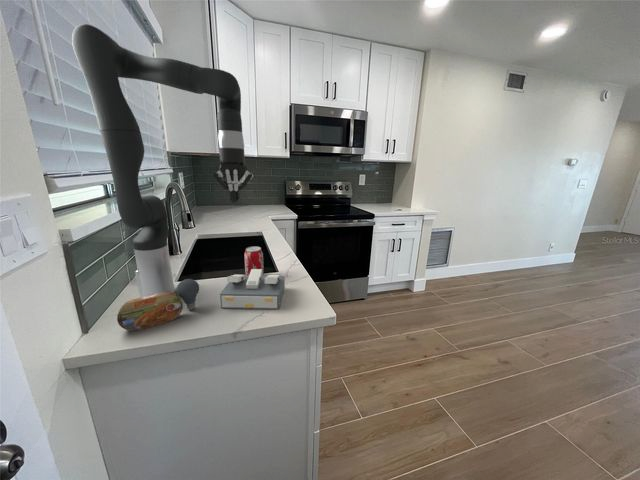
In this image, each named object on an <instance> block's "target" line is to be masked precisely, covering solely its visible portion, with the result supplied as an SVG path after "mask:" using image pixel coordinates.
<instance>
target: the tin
mask: <svg viewBox="0 0 640 480" xmlns="http://www.w3.org/2000/svg"><path fill="white" fill-rule="evenodd" d="M183 309H184V302H183V301H182V298H181V297H180V296H179V295H178V294H177V293H175V292H174V293H172V292H163V293H159V294H154V295H150V296H146V297H141V298H140V297H138V298H133V299H130V300H129V301H126V302H125V303H124V304H123V305H121V307H120V309H119V311H118V313H117V316H116V320H117V324H118V325H119V326H120V328H122V329H124V330H126V331H129V332H130V331H131V332H136V331H141V330H145V329H148V328H151V327H156V326H157V325H162V324H165V323H169V322H172V321H173V320H175V319H177V318H178V317H179V316H180V315H181V313H182V311H183ZM144 328H145V329H144Z"/></svg>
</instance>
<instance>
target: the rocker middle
mask: <svg viewBox="0 0 640 480" xmlns="http://www.w3.org/2000/svg"><path fill="white" fill-rule="evenodd" d="M261 276H262V269H251V272H250V275H249V277H248V278H247V283H246V289H258V286H259V283H260V280H261Z"/></svg>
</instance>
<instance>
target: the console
mask: <svg viewBox="0 0 640 480" xmlns="http://www.w3.org/2000/svg"><path fill="white" fill-rule="evenodd" d="M244 275H245V280H242V281H240V282H227V284H226V285H225V286H224V288H223V289H222V290H221V291H220V293H219V296H220V297H219V298H220V307H221V309H241V310H243V309H249V310H250V309H251V310H280V306H281V303H282V300H283V296H284V291H285V275H280V280H279V281H278V282H277V283H276V284H265V278H266V277H267V276H268V275H269V274H268V275H266V274H265V275H264V274H263V275H262V276H261V280H260V283H259V286H258V289H246V283H247V278H248V277H249V275H246V274H244Z"/></svg>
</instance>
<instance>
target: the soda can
mask: <svg viewBox="0 0 640 480" xmlns="http://www.w3.org/2000/svg"><path fill="white" fill-rule="evenodd" d="M243 257H244V269H245V270H244V271H245V275H250V272H251V269H262V275H264V269H265V268H264V267H265V266H264V253H263V251H262V247H260V246H258V245H257V246H254V245H253V246H248V247H246V248H245V251H244V256H243Z"/></svg>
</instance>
